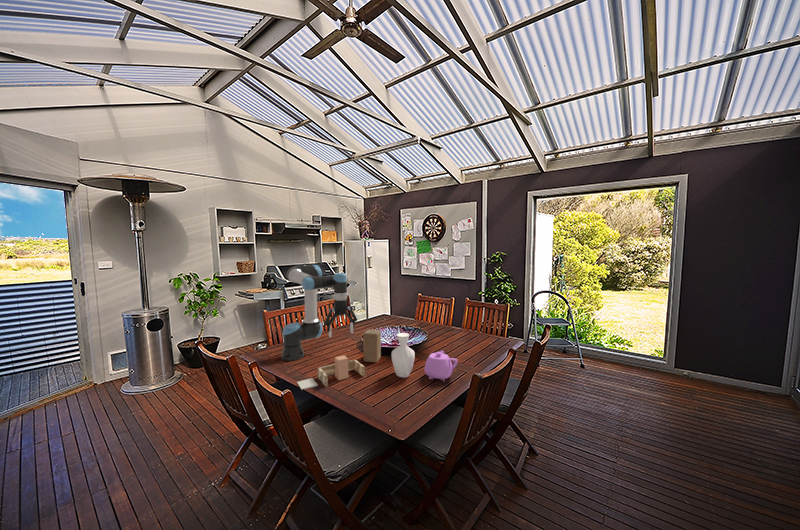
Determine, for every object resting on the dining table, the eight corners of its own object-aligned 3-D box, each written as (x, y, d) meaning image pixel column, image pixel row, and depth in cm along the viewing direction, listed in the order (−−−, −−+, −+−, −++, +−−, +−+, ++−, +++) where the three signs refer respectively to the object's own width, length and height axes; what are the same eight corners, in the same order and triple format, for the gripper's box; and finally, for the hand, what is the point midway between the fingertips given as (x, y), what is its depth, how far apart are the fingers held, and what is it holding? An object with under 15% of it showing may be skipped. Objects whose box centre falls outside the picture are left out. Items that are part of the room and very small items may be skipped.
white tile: (297, 382, 173) (297, 381, 173) (312, 379, 178) (312, 378, 178) (301, 390, 164) (301, 388, 164) (317, 385, 169) (317, 384, 169)
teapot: (460, 371, 189) (460, 348, 188) (455, 385, 170) (455, 359, 169) (429, 367, 195) (429, 344, 194) (421, 380, 176) (422, 355, 175)
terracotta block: (335, 376, 181) (334, 357, 180) (344, 374, 184) (344, 355, 183) (338, 380, 176) (338, 360, 175) (348, 377, 179) (348, 358, 178)
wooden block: (377, 363, 201) (377, 334, 200) (363, 361, 203) (362, 333, 202) (381, 357, 211) (381, 329, 210) (367, 356, 213) (367, 328, 212)
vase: (388, 371, 188) (387, 332, 186) (408, 368, 193) (408, 330, 191) (396, 381, 175) (396, 339, 173) (418, 377, 180) (418, 336, 178)
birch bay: (317, 377, 180) (317, 367, 179) (355, 368, 193) (355, 359, 192) (325, 386, 168) (325, 376, 168) (364, 376, 181) (364, 366, 181)
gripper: (321, 302, 167) (322, 340, 168) (362, 298, 180) (362, 332, 182) (317, 300, 173) (318, 336, 175) (357, 296, 187) (357, 329, 188)
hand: (341, 334), depth 178 cm, fingers open, 13 cm apart
